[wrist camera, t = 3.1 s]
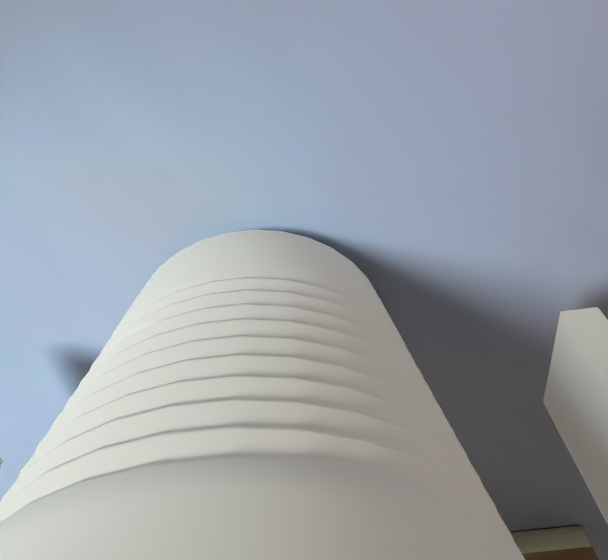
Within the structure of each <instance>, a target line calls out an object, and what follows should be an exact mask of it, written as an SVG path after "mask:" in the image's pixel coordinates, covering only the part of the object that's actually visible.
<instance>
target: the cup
mask: <svg viewBox="0 0 608 560" xmlns="http://www.w3.org/2000/svg"><path fill="white" fill-rule="evenodd" d="M0 560H525V558H524V556H523V555H522V553H521V552H520V550H519V548H518V547H517V545H516V543H515V542H514V540H513V537H512V535H511V533H510V531H509V530H508V528H507V527H506V525H505V523H504V522H503V520H502V518H501V517H500V515H499V513H498V512H497V509H496V506H495V504H494V503H493V501H492V499H491V498H490V496H489V494H488V493H487V491H486V489H485V488H484V486H483V485H482V482H481V479H480V477H479V476H478V474H477V473H476V471H475V469H474V468H473V466H472V464H471V463H470V461H469V459H468V457H467V454H466V452H465V451H464V449H463V447H462V446H461V444H460V442H459V441H458V439H457V438H456V436H455V433H454V431H453V429H452V428H451V426H450V424H449V423H448V421H447V419H446V418H445V416H444V413H443V411H442V409H441V408H440V406H439V404H438V403H437V401H436V399H435V398H434V396H433V393H432V392H431V390H430V388H429V387H428V385H427V383H426V382H425V380H424V378H423V375H422V374H421V372H420V370H419V369H418V367H417V365H416V364H415V362H414V359H413V358H412V356H411V354H410V353H409V351H408V349H407V348H406V345H405V343H404V341H403V339H402V337H401V335H400V334H399V332H398V330H397V328H396V327H395V325H394V323H393V321H392V319H391V318H390V316H389V314H388V312H387V310H386V309H385V307H384V305H383V303H382V302H381V300H380V298H379V296H378V294H377V293H376V291H375V289H374V288H373V286H372V284H371V283H370V281H369V279H368V278H367V277H366V276H365V275H364V274H363V272H362V271H361V270H360V269H359V268H358V267H357V266H356V265H355V264H354V263H353V262H352V261H351V260H349V259H348V258H346V257H345V256H343V255H342V254H340V253H339V252H337V251H336V250H334V249H333V248H331V247H329V246H327V245H325V244H322V243H320V242H318V241H315V240H313V239H311V238H308V237H305V236H300V235H296V234H292V233H288V232H283V231H272V230H254V229H253V230H244V231H236V232H227V233H223V234H220V235H217V236H213V237H210V238H207V239H203V240H200V241H198V242H196V243H194V244H193V245H191V246H189V247H187V248H185V249H183V250H181V251H179V252H177V253H176V254H175V255H174V256H172V257H171V258H170V259H169V260H167V261H166V262H165V263H164V264H163V265H161V266H160V267H159V268H158V269H157V270H156V272H155V273H154V274H153V276H152V277H151V278H150V280H149V281H148V282H147V283H146V285H145V286H144V288H143V289H142V291H141V292H140V294H139V295H138V297H137V298H136V300H135V301H134V302H133V304H132V305H131V307H130V308H129V310H128V311H127V313H126V314H125V316H124V317H123V319H122V320H121V322H120V323H119V325H118V326H117V328H116V329H115V331H114V332H113V334H112V337H111V339H110V340H109V341H108V343H107V344H106V345H105V346H104V348H103V349H102V352H101V354H100V355H99V356H98V358H97V359H96V360H95V361H94V363H93V364H92V366H91V368H90V370H89V372H88V373H87V374H86V376H85V377H84V378H83V379H82V381H81V382H80V384H79V386H78V389H77V390H76V391H75V392H74V394H73V395H72V396H71V397H70V399H69V400H68V401H67V403H66V406H65V408H64V409H63V411H62V412H61V413H60V414H59V416H58V417H57V418H56V420H55V421H54V422H53V424H52V426H51V429H50V431H49V432H48V433H47V434H46V436H45V437H44V438H43V439H42V441H41V442H40V443H39V444H38V446H37V448H36V451H35V453H34V455H33V456H32V457H31V459H30V460H29V461H28V462H27V464H26V465H25V466H24V467H23V469H22V470H21V471H20V474H19V476H18V478H17V480H16V482H15V483H14V484H13V486H12V487H11V488H10V489H9V491H8V492H7V493H6V494H5V496H4V497H3V498H2V500H1V502H0Z"/></svg>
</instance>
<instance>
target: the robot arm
mask: <svg viewBox="0 0 608 560" xmlns="http://www.w3.org/2000/svg"><path fill="white" fill-rule="evenodd" d="M543 403H544V405H545V407H546V409H547V411H548V413H549V414H550V416H551V418H552V420H553V422H554V424H555V426H556V428H557V430H558V432H559V433H560V435H561V437H562V439H563V441H564V443H565V445H566V447H567V449H568V451H569V452H570V454H571V456H572V458H573V460H574V462H575V464H576V466H577V468H578V470H579V471H580V473H581V475H582V477H583V479H584V481H585V483H586V485H587V487H588V489H589V490H590V492H591V494H592V496H593V498H594V500H595V502H596V504H597V506H598V508H599V509H600V511H601V513H602V515H603V517H604V519H605V521H606V523H607V525H608V320H607V318H606V317H605V316H604V314H603V313H602V312H601V311H600V309H599V308H598V307H594V308H586V309H577V310H568V311H561V312H560V317H559V322H558V327H557V332H556V338H555V343H554V348H553V353H552V358H551V363H550V368H549V373H548V379H547V384H546V389H545V394H544V399H543ZM2 462H3V461H2V460H1V458H0V467H1V464H2Z"/></svg>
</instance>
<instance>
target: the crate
mask: <svg viewBox="0 0 608 560" xmlns="http://www.w3.org/2000/svg"><path fill="white" fill-rule="evenodd" d="M511 535H512V537H513V540H514V542H515V543H516V545H517V547H518V548H519V550H520V552H521V553H522V555H523V556H524V558H525V560H598V558H597V556H596V554H595V552H594V550H593V548H592V546H591V544H590V542H589V540H588V538H587V536H586V534H585V531H584V529H583V527H582V525H579V526H569V527H559V528H550V529H540V530H530V531H520V532H511Z"/></svg>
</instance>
